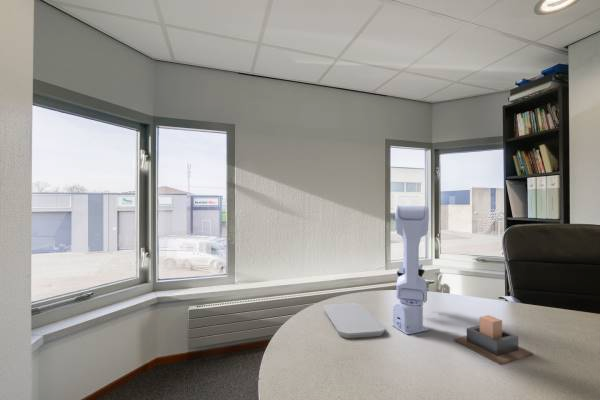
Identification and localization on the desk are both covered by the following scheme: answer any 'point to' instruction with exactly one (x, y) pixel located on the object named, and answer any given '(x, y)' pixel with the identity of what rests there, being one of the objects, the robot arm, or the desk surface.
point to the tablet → (353, 320)
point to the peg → (491, 326)
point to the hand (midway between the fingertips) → (411, 288)
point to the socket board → (494, 345)
